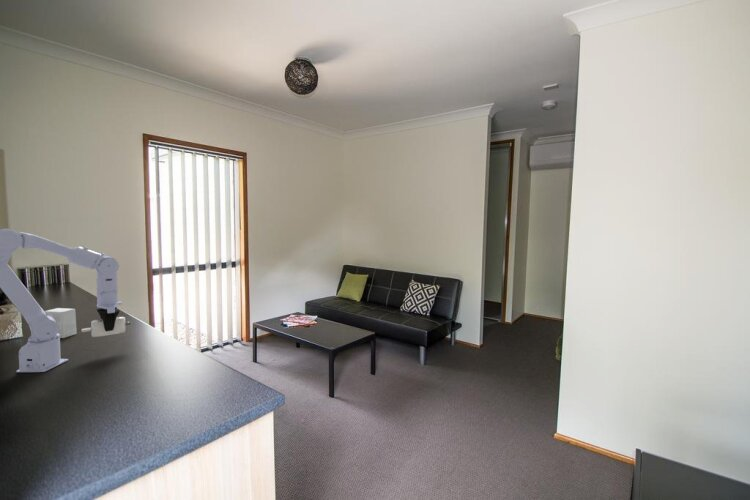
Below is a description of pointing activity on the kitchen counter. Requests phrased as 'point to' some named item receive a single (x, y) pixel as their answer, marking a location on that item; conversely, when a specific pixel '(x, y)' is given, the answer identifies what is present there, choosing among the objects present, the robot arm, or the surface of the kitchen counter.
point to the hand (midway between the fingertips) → (108, 329)
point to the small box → (64, 320)
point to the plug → (99, 330)
